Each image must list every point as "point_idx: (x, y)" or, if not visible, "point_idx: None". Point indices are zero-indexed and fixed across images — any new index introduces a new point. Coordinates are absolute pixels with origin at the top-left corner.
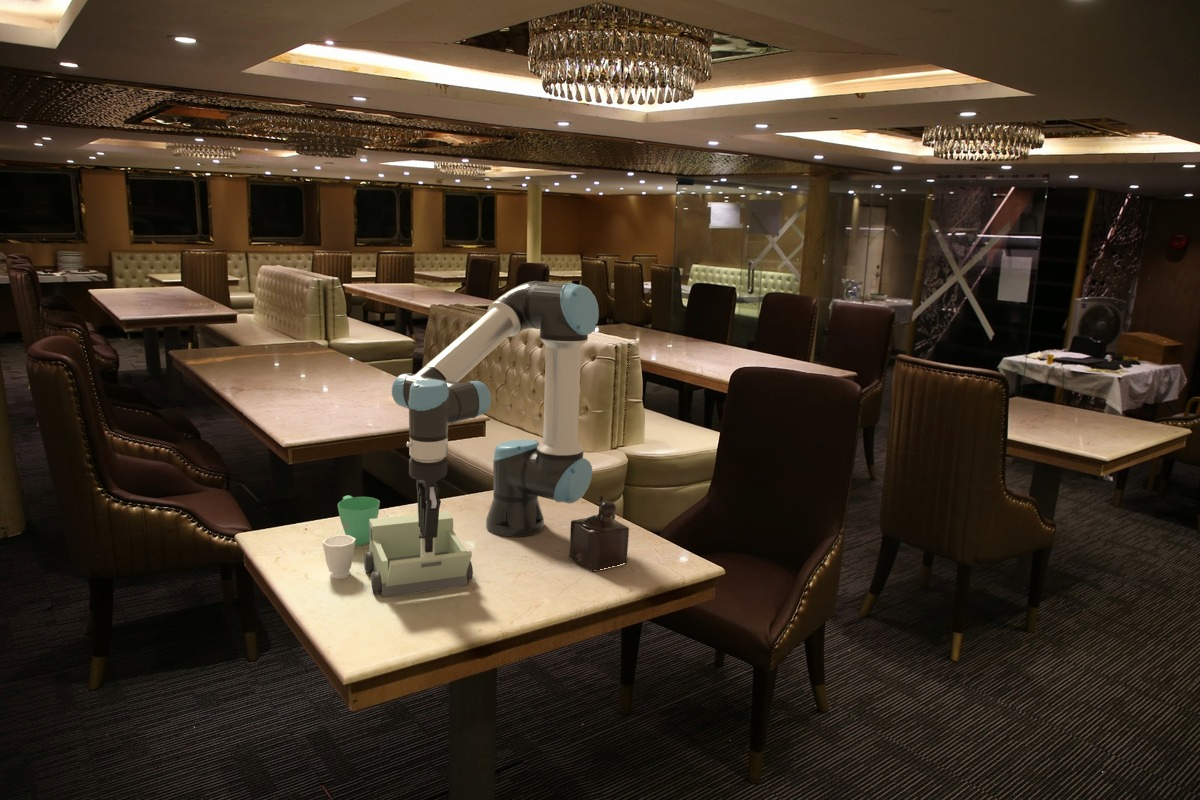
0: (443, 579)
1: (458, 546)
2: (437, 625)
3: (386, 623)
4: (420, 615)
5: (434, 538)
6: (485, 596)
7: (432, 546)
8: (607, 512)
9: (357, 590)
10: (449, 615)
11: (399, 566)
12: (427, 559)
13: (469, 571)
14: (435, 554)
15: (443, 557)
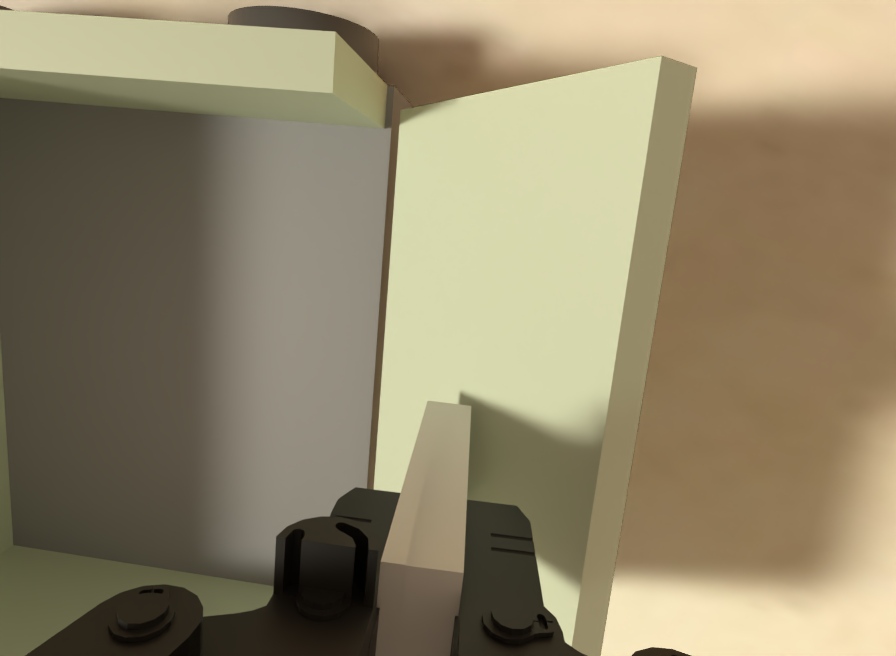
0: (386, 261)
1: (197, 80)
2: (829, 437)
3: (667, 645)
4: (665, 477)
5: (463, 548)
6: (611, 43)
7: (534, 551)
8: None
9: None
10: (748, 339)
11: None
12: (605, 568)
13: (368, 57)
14: (16, 197)
15: (633, 410)
